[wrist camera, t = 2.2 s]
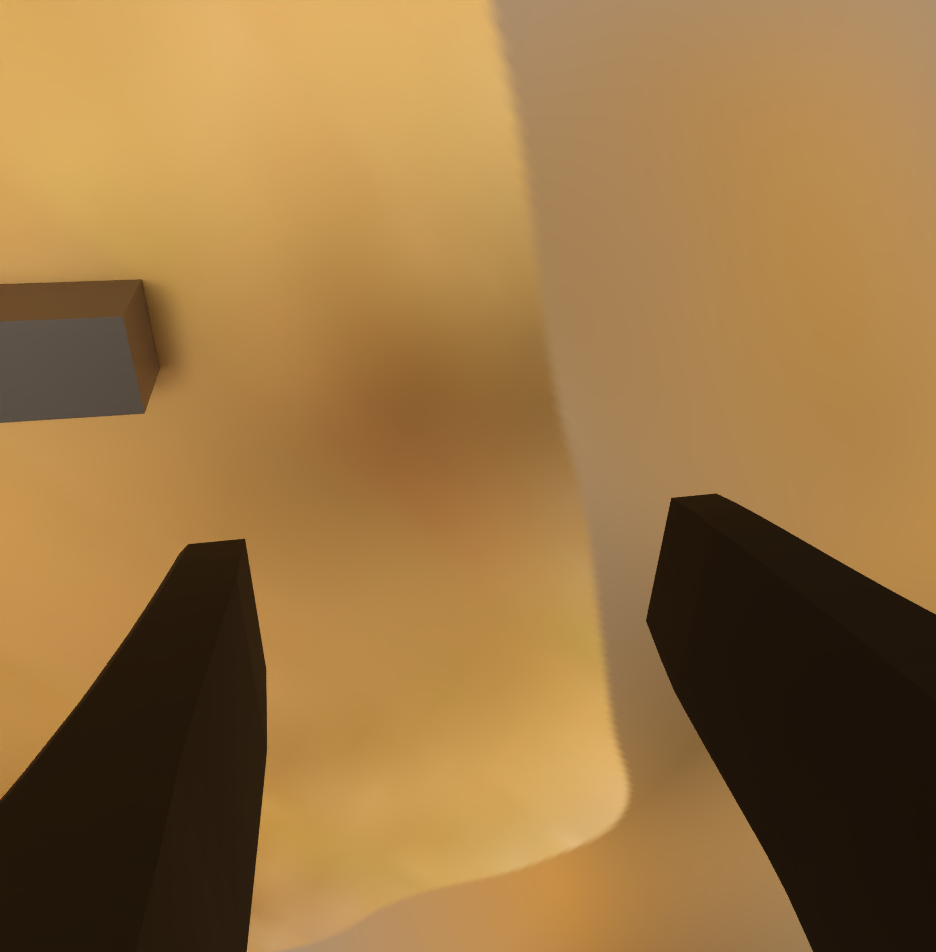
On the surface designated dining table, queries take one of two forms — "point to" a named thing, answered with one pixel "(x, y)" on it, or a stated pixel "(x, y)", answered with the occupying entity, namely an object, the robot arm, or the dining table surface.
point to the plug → (75, 350)
